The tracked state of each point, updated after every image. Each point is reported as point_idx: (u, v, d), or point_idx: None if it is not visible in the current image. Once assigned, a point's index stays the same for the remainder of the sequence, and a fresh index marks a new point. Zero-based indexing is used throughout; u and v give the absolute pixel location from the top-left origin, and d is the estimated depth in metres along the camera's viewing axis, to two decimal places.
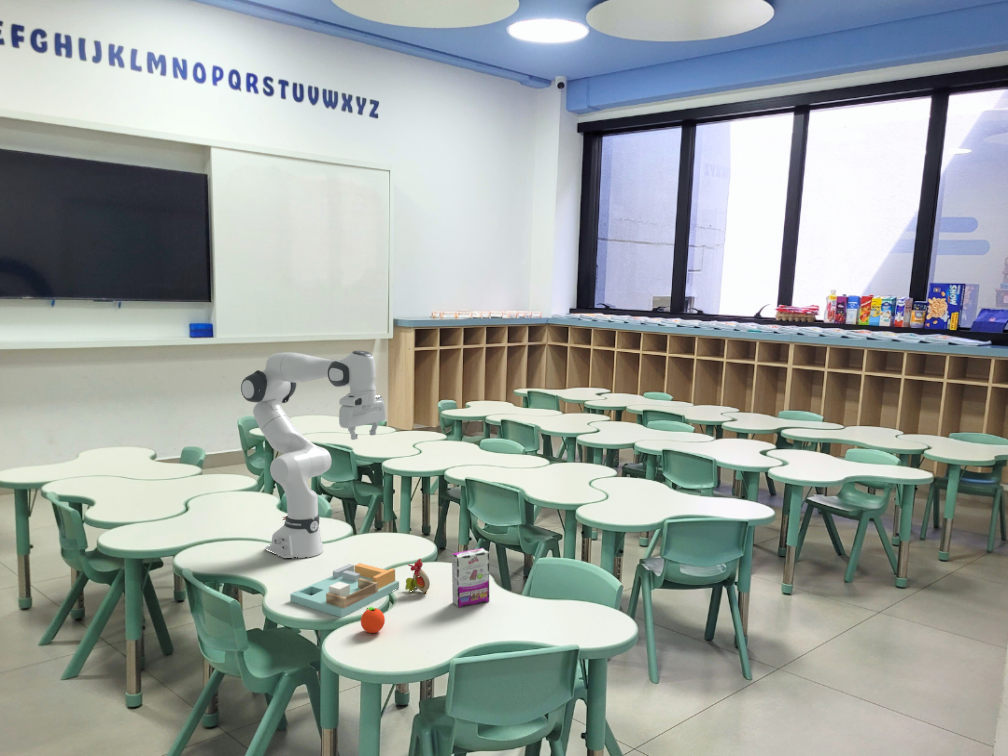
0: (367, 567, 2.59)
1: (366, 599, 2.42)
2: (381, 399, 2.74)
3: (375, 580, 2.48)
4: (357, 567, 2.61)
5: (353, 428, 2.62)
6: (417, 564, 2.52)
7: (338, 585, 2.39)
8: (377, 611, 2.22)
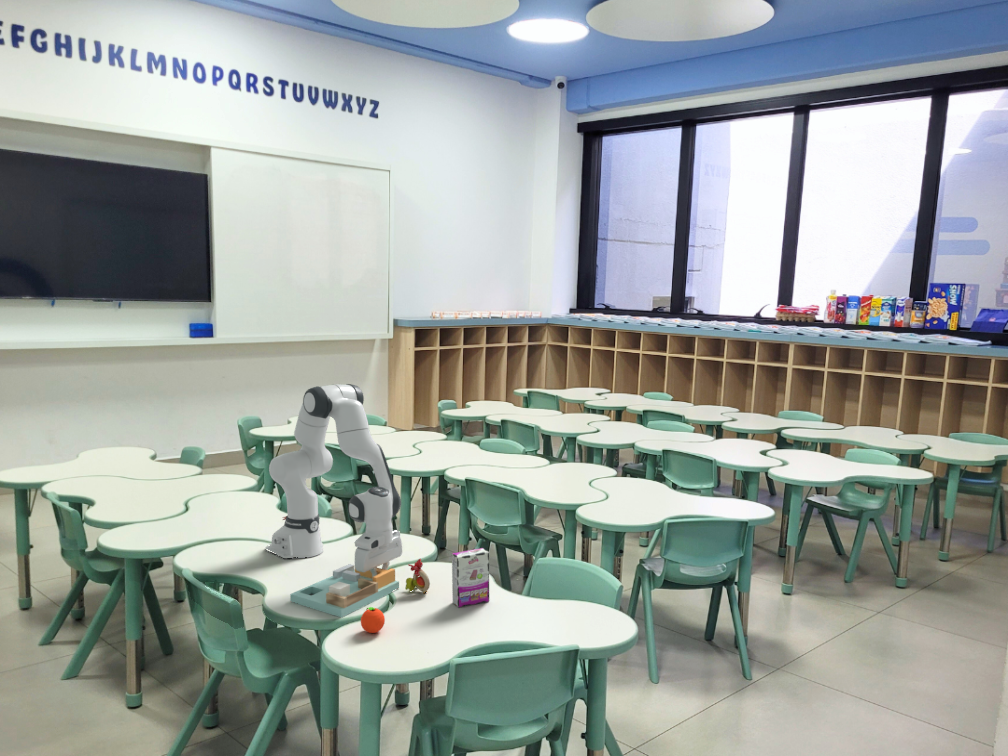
0: None
1: (366, 599, 2.42)
2: (397, 534, 2.64)
3: (375, 580, 2.48)
4: None
5: (375, 568, 2.54)
6: (417, 564, 2.52)
7: (338, 585, 2.39)
8: (377, 611, 2.22)
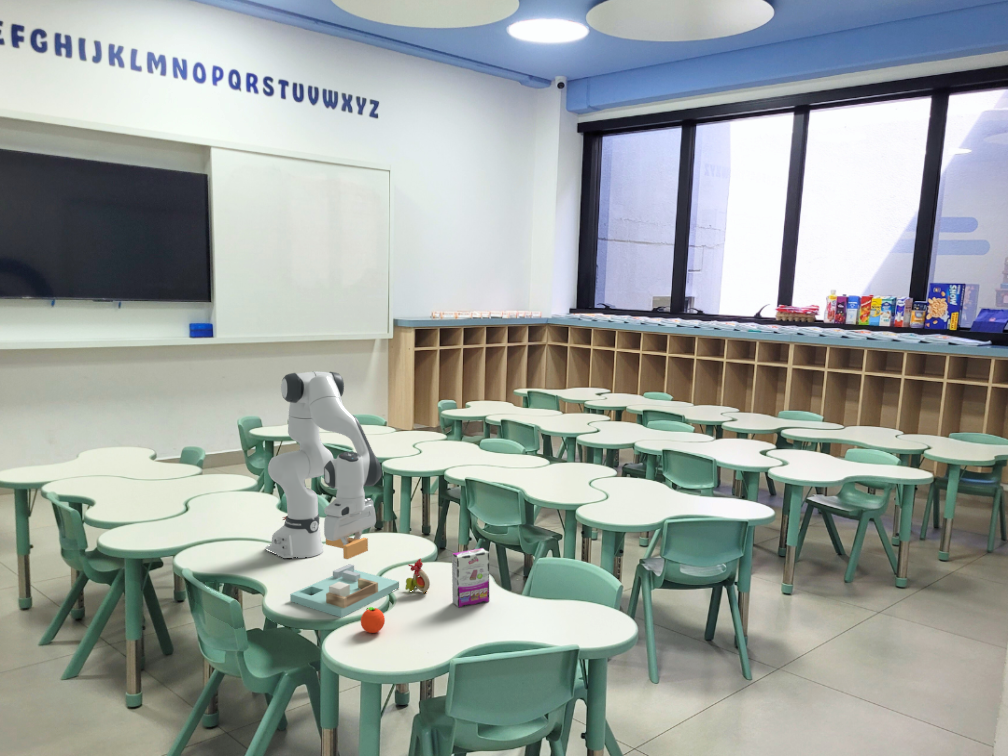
0: None
1: (366, 599, 2.42)
2: (371, 502, 2.51)
3: (346, 549, 2.35)
4: None
5: (346, 537, 2.41)
6: (417, 564, 2.52)
7: (338, 585, 2.39)
8: (377, 611, 2.22)
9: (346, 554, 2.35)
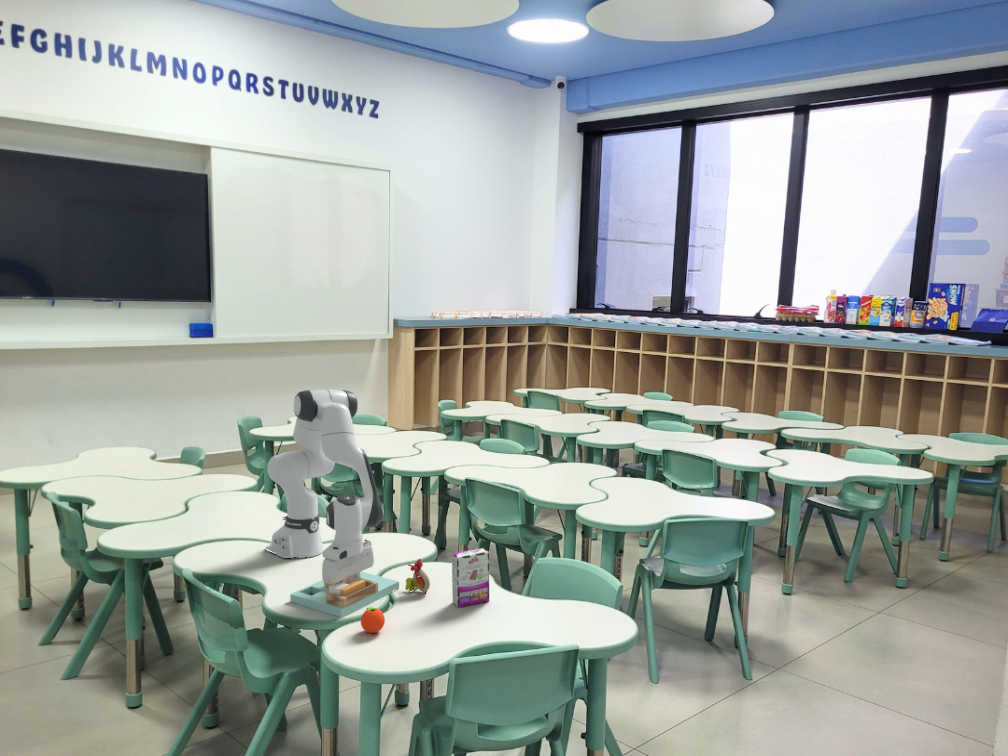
0: None
1: (366, 599, 2.42)
2: (369, 543, 2.52)
3: (344, 593, 2.36)
4: None
5: (344, 580, 2.42)
6: (417, 564, 2.52)
7: (338, 585, 2.39)
8: (377, 611, 2.22)
9: None
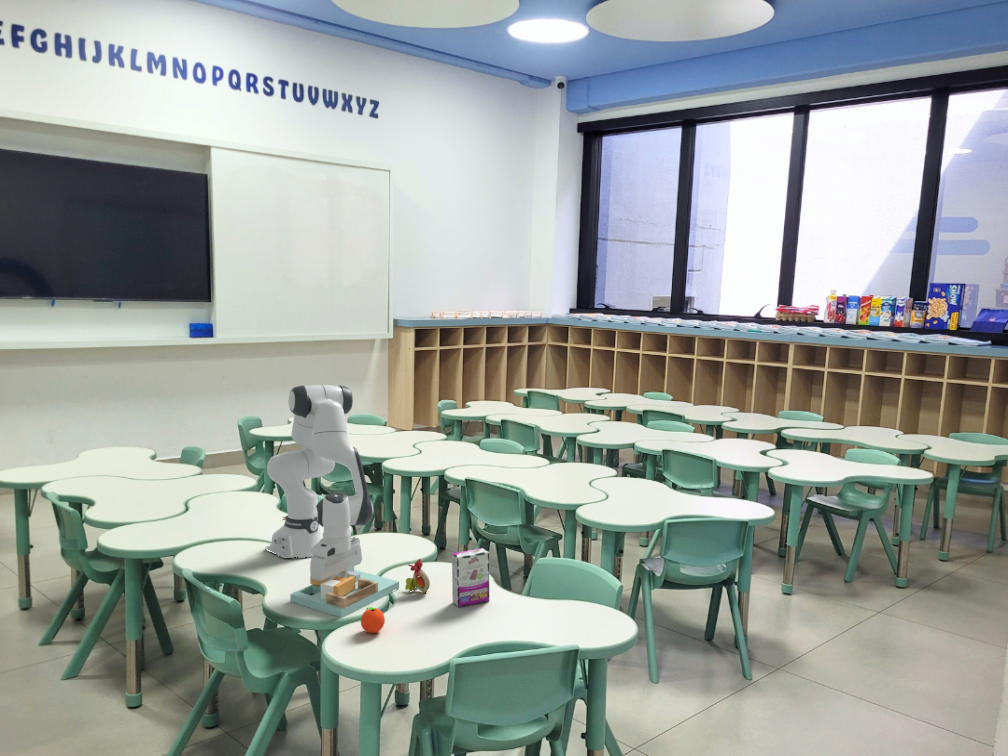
0: None
1: (366, 599, 2.42)
2: (357, 541, 2.55)
3: (337, 589, 2.39)
4: None
5: (331, 576, 2.45)
6: (417, 564, 2.52)
7: (330, 583, 2.41)
8: (377, 611, 2.22)
9: (337, 594, 2.39)
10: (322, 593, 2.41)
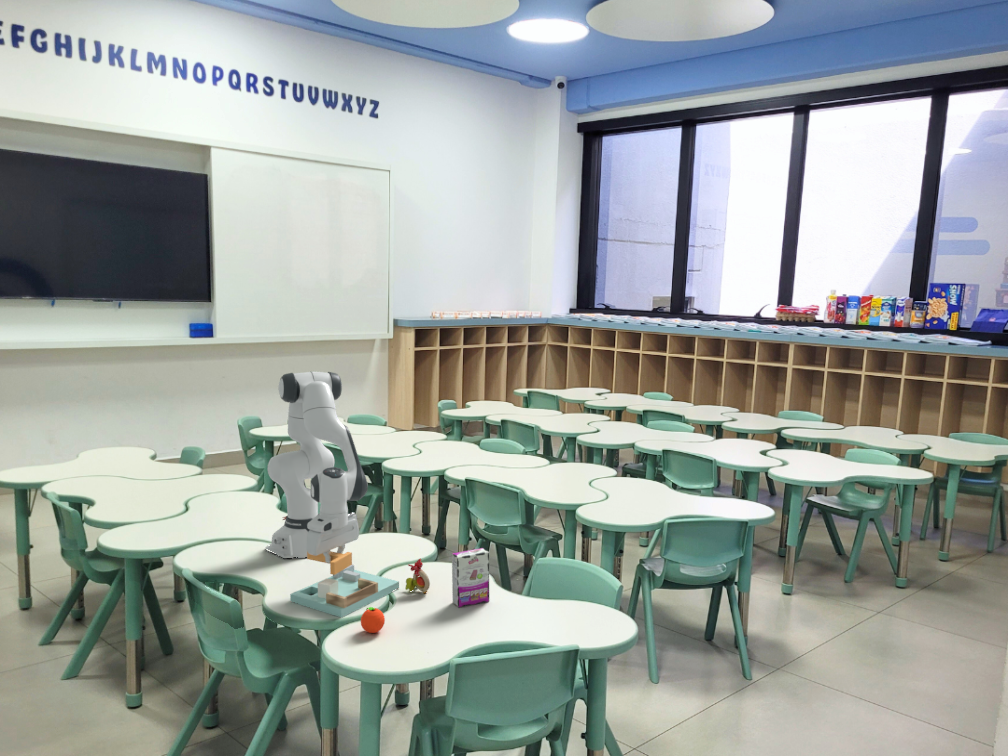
0: None
1: (366, 599, 2.42)
2: (354, 516, 2.54)
3: (333, 565, 2.39)
4: None
5: (328, 551, 2.45)
6: (417, 564, 2.52)
7: (327, 582, 2.42)
8: (377, 611, 2.22)
9: (333, 570, 2.39)
10: (319, 592, 2.41)
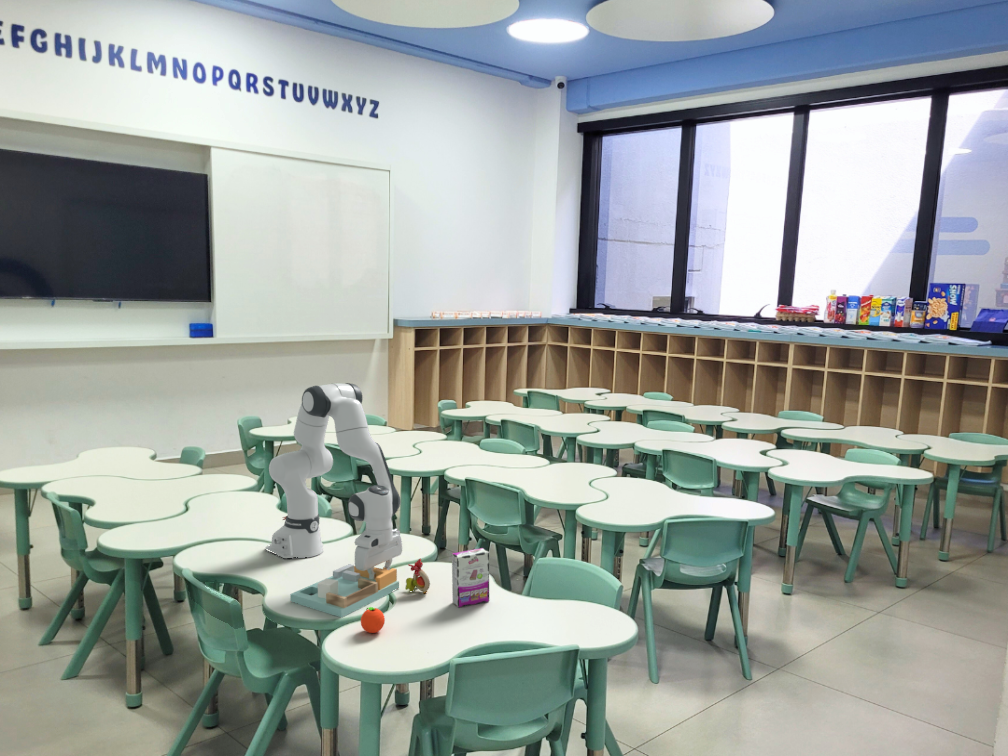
0: None
1: (366, 599, 2.42)
2: (397, 532, 2.63)
3: (379, 580, 2.48)
4: None
5: (372, 568, 2.52)
6: (417, 564, 2.52)
7: (327, 582, 2.42)
8: (377, 611, 2.22)
9: (379, 585, 2.48)
10: (319, 592, 2.41)
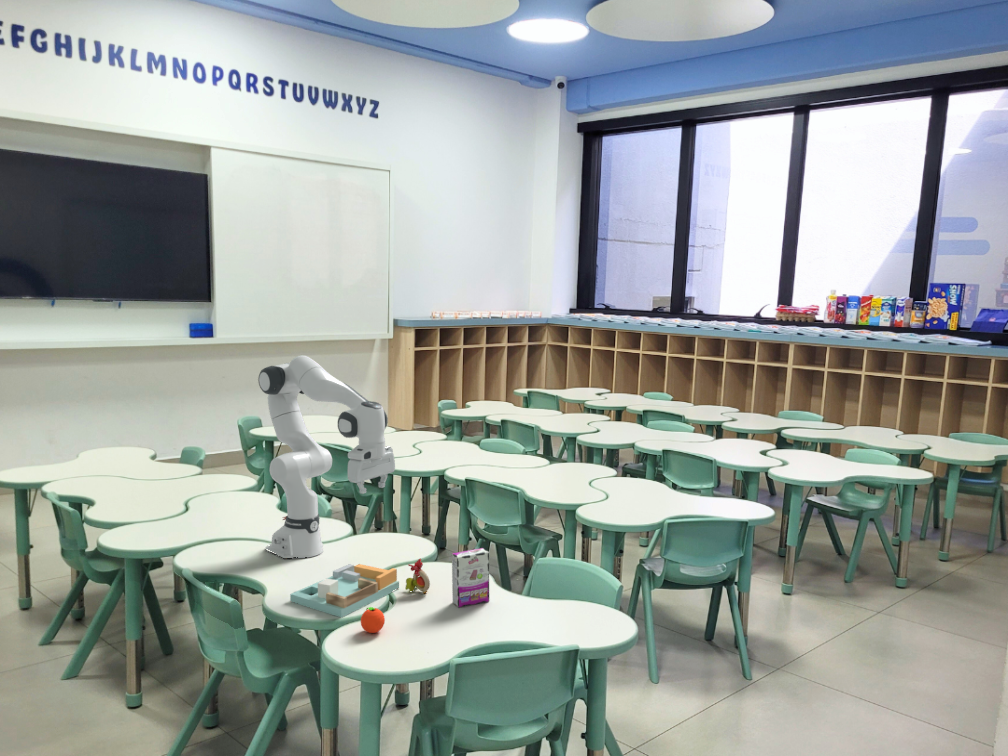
0: (367, 568, 2.59)
1: (366, 599, 2.42)
2: (390, 450, 2.67)
3: (379, 580, 2.48)
4: (357, 568, 2.60)
5: (362, 482, 2.54)
6: (417, 564, 2.52)
7: (327, 582, 2.42)
8: (377, 611, 2.22)
9: (379, 585, 2.48)
10: (319, 592, 2.41)
